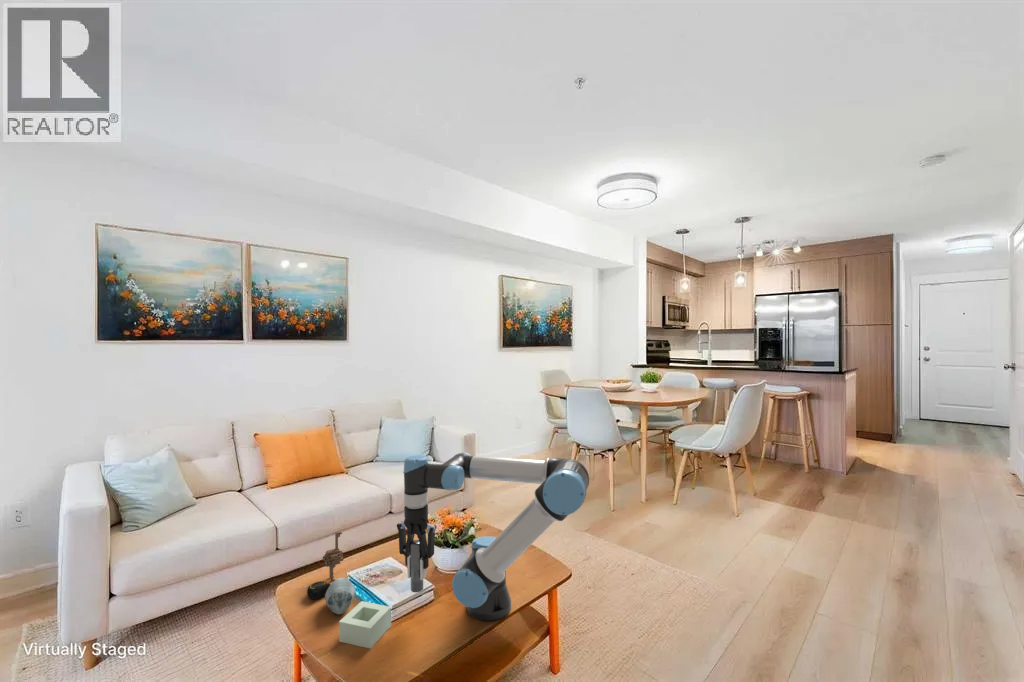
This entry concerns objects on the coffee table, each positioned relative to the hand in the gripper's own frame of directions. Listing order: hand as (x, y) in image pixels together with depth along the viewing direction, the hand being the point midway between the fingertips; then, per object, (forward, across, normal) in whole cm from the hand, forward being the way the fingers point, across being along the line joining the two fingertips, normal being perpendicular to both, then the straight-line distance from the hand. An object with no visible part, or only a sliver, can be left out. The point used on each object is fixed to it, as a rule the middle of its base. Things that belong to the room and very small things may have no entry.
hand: (417, 576), depth 143 cm
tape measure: (+14, +38, 0) cm, 41 cm away
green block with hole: (+14, +12, +10) cm, 21 cm away
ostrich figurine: (+14, +46, -9) cm, 49 cm away
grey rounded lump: (+14, +27, +3) cm, 31 cm away
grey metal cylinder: (+4, 0, 0) cm, 4 cm away
